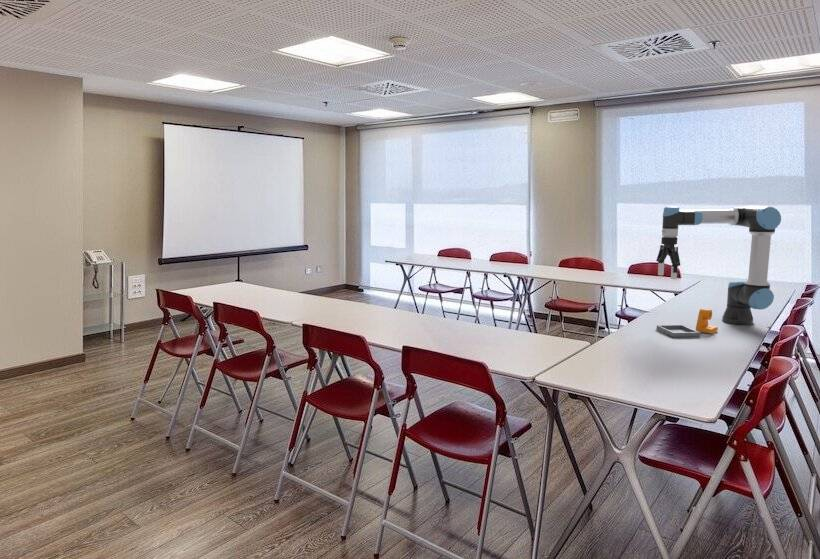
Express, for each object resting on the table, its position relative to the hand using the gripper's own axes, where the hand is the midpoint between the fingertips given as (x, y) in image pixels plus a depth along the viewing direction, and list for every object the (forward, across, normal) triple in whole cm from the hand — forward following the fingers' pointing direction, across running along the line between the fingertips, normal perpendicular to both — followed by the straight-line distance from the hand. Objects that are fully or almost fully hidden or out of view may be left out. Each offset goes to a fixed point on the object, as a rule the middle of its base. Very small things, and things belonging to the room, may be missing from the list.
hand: (667, 277), depth 298 cm
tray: (+28, +10, +2) cm, 30 cm away
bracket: (+28, +8, +19) cm, 35 cm away
